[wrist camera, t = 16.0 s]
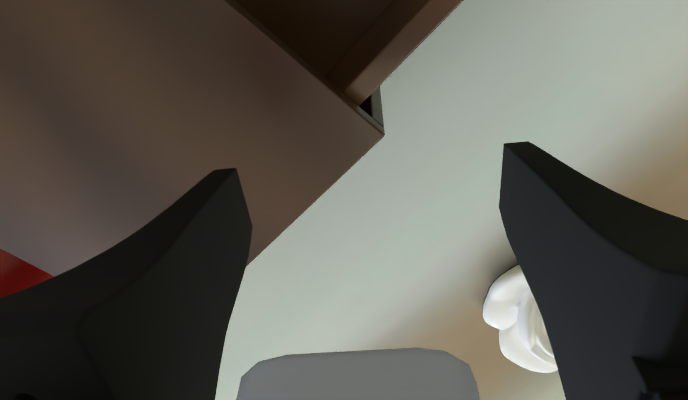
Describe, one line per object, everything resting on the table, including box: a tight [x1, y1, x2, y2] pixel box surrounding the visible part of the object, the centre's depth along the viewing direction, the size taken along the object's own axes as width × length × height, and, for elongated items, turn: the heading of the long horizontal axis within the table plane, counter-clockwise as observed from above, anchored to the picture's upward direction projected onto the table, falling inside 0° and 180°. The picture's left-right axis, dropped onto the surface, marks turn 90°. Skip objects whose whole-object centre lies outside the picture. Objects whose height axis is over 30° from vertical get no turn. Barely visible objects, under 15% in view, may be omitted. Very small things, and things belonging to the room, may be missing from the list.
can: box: [0, 248, 55, 298], centre depth 25 cm, size 5×5×8 cm
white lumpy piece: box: [483, 264, 558, 373], centre depth 28 cm, size 10×4×10 cm
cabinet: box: [0, 0, 385, 276], centre depth 20 cm, size 14×13×7 cm
